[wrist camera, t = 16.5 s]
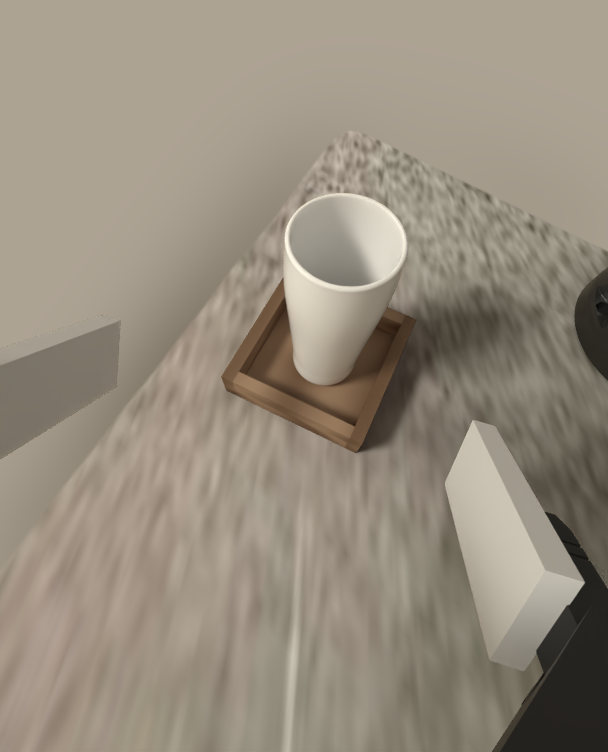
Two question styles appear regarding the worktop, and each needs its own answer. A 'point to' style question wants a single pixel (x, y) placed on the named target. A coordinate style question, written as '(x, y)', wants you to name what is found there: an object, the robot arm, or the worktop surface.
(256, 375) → the walnut tray
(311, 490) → the worktop surface
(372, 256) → the white tumbler cup
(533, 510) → the robot arm
